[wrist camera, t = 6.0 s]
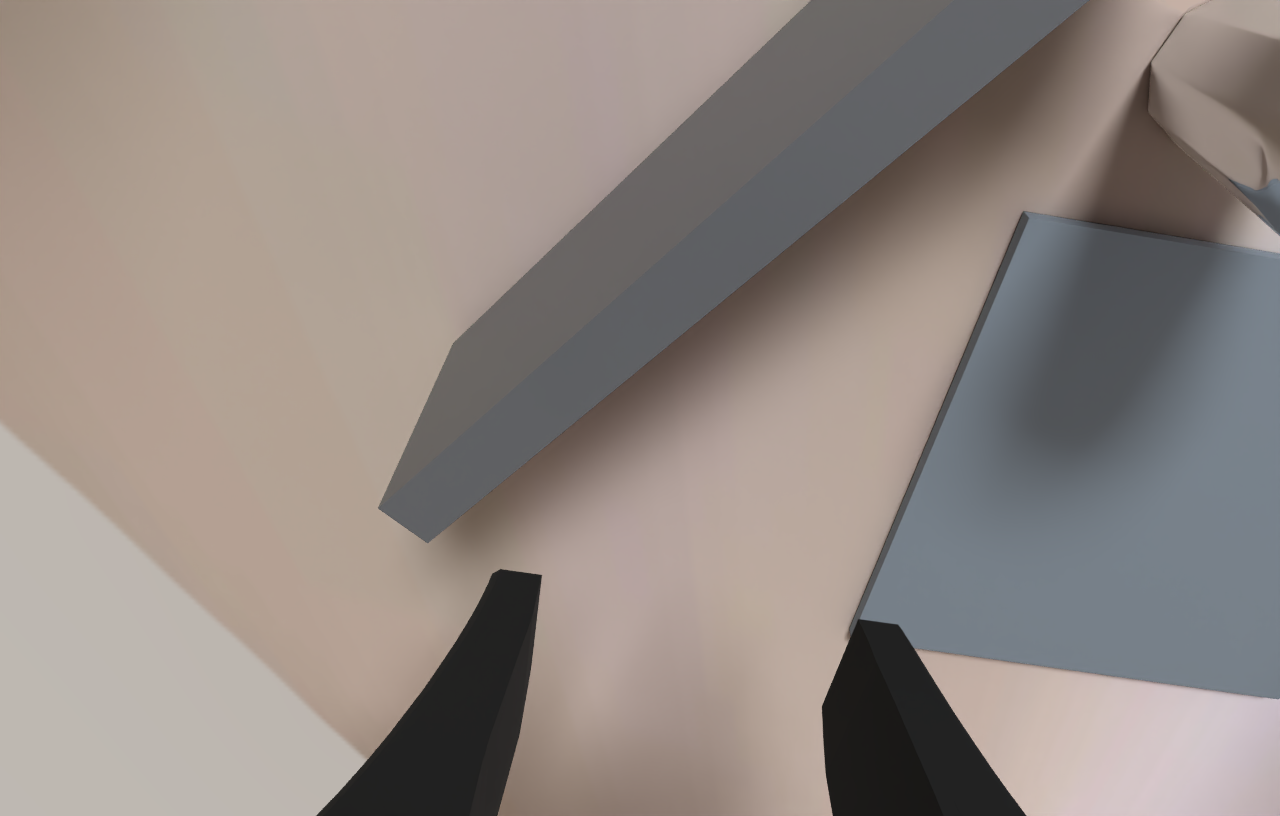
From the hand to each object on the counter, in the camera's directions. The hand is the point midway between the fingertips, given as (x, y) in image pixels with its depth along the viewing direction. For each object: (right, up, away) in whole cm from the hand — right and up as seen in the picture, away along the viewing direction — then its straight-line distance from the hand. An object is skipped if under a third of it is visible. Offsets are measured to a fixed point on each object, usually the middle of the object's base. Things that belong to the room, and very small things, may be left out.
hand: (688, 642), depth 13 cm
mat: (+14, +1, +11) cm, 18 cm away
